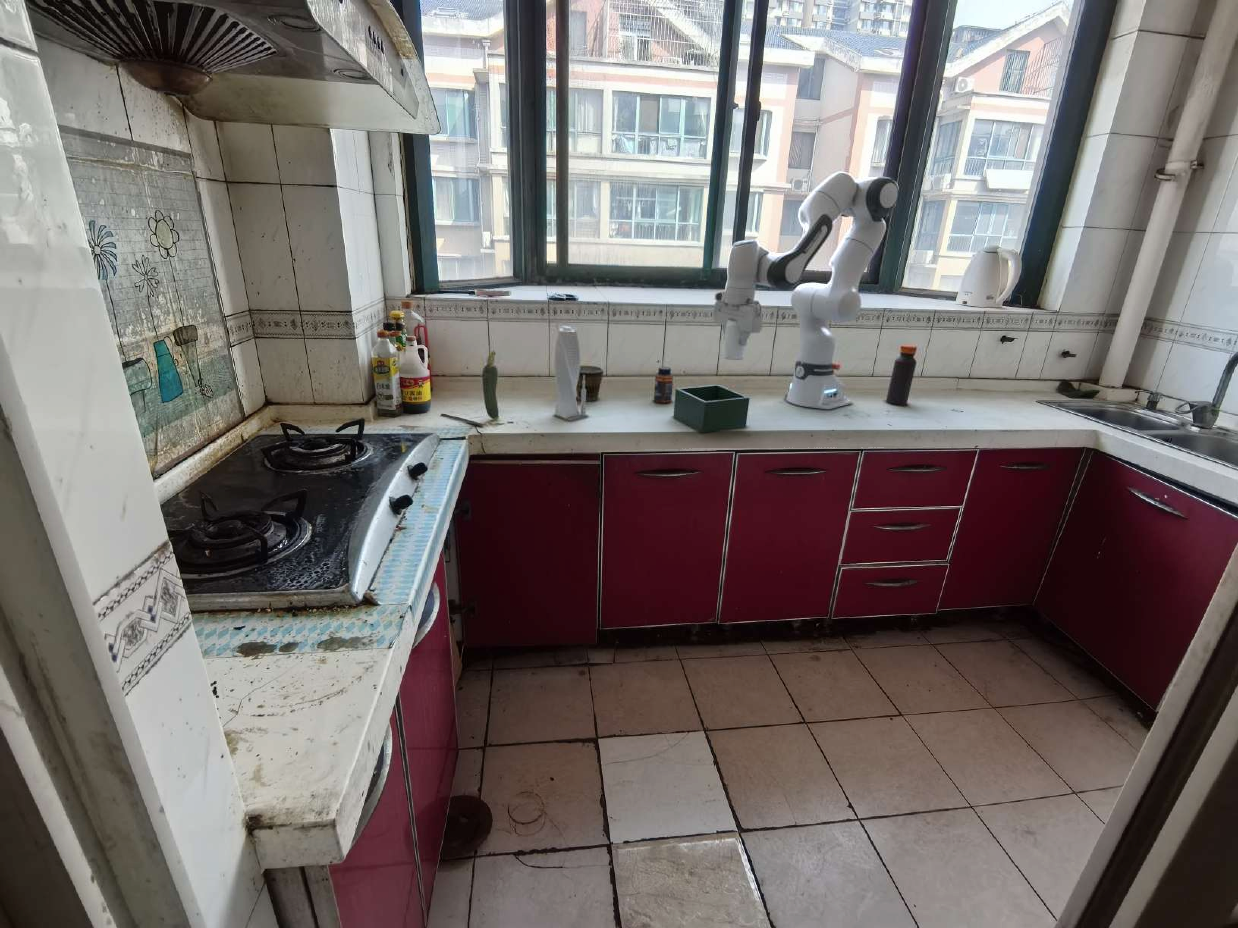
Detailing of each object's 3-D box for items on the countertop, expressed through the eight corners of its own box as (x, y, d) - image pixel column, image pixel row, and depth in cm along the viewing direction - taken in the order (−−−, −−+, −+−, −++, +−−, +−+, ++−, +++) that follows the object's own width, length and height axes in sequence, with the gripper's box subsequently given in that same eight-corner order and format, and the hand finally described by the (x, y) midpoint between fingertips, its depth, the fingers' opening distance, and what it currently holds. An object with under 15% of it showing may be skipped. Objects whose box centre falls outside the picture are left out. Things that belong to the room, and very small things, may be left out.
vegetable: (486, 422, 168) (483, 352, 161) (482, 418, 172) (479, 349, 164) (501, 421, 170) (499, 351, 163) (497, 416, 174) (494, 348, 166)
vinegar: (910, 404, 207) (924, 347, 200) (899, 406, 204) (912, 348, 196) (893, 399, 212) (905, 343, 205) (881, 401, 209) (894, 345, 201)
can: (743, 361, 182) (748, 321, 178) (722, 359, 183) (726, 320, 179) (743, 356, 188) (748, 318, 184) (723, 355, 189) (727, 317, 185)
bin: (715, 412, 188) (718, 384, 184) (745, 427, 175) (749, 397, 172) (673, 417, 181) (675, 388, 178) (702, 432, 168) (705, 402, 165)
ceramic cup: (585, 392, 202) (585, 364, 198) (608, 398, 197) (609, 369, 193) (560, 400, 192) (560, 370, 189) (583, 406, 187) (584, 375, 183)
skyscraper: (566, 422, 172) (567, 324, 161) (548, 415, 177) (548, 320, 166) (587, 416, 178) (589, 322, 167) (568, 410, 183) (570, 318, 172)
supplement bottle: (674, 401, 198) (677, 367, 193) (666, 404, 193) (668, 370, 189) (659, 397, 201) (661, 364, 196) (650, 401, 196) (652, 367, 192)
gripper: (770, 301, 172) (764, 348, 177) (727, 293, 188) (723, 336, 194) (752, 302, 169) (747, 350, 174) (711, 293, 186) (707, 337, 191)
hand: (734, 343), depth 184 cm, fingers closed on can, 6 cm apart
